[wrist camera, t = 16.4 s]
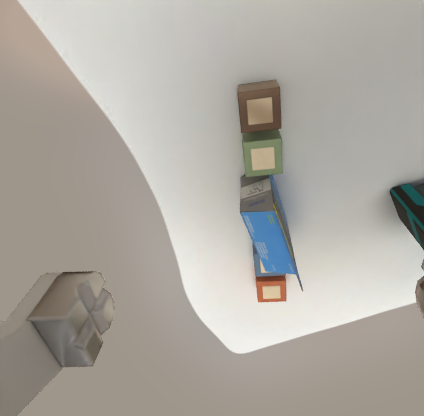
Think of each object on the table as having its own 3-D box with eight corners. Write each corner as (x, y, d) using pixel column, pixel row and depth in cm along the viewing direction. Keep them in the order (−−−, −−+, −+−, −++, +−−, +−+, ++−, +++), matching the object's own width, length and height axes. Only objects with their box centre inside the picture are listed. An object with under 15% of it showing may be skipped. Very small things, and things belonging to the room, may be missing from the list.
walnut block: (237, 84, 33) (237, 93, 29) (276, 79, 32) (280, 87, 29) (241, 122, 35) (241, 133, 32) (277, 117, 34) (281, 129, 31)
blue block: (252, 235, 43) (253, 254, 40) (281, 233, 43) (285, 252, 39) (254, 257, 45) (255, 277, 42) (282, 255, 45) (285, 276, 41)
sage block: (242, 130, 36) (242, 143, 32) (277, 126, 35) (281, 138, 31) (245, 162, 38) (245, 177, 34) (278, 159, 37) (282, 174, 33)
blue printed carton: (238, 175, 39) (237, 235, 28) (269, 165, 37) (279, 223, 27) (260, 230, 43) (266, 300, 32) (288, 222, 42) (304, 292, 31)
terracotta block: (255, 262, 46) (256, 282, 42) (282, 261, 45) (285, 281, 42) (256, 282, 48) (258, 303, 44) (283, 280, 47) (286, 302, 44)
